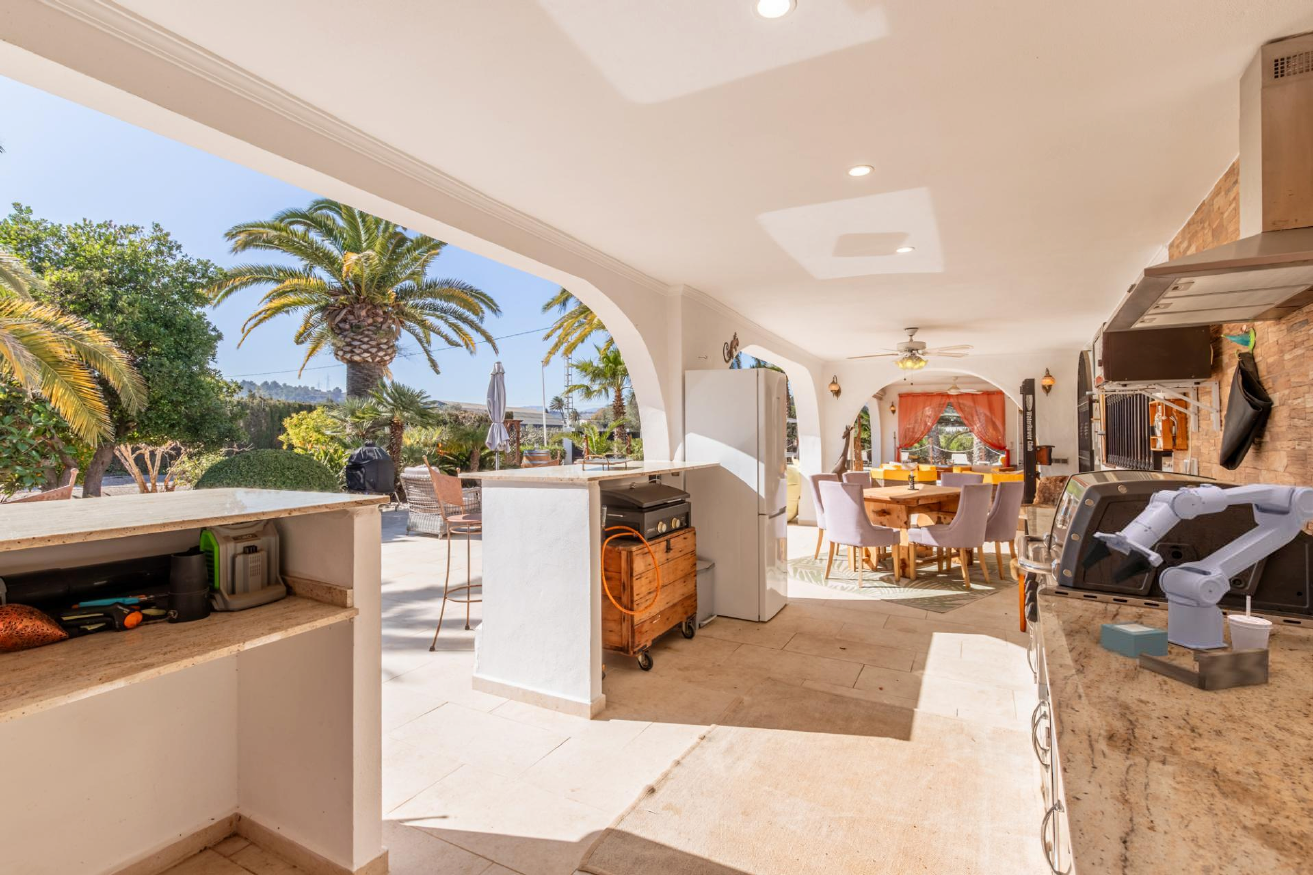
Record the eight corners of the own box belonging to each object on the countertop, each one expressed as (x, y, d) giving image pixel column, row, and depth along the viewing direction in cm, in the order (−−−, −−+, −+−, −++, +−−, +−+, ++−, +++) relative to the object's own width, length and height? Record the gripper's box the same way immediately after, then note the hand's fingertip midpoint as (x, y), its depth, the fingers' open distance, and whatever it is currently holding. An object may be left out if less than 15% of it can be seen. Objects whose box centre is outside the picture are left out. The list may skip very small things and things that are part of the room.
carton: (1133, 644, 133) (1133, 621, 133) (1167, 656, 127) (1167, 631, 127) (1100, 648, 131) (1101, 624, 131) (1133, 659, 124) (1134, 634, 124)
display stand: (1197, 659, 124) (1198, 630, 124) (1268, 682, 113) (1268, 650, 113) (1138, 666, 120) (1139, 635, 120) (1205, 690, 109) (1206, 656, 109)
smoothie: (1262, 666, 121) (1263, 595, 121) (1278, 678, 115) (1280, 603, 115) (1220, 661, 124) (1221, 591, 123) (1234, 672, 118) (1235, 598, 118)
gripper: (1105, 509, 140) (1061, 549, 139) (1168, 529, 126) (1119, 574, 125) (1119, 531, 141) (1076, 570, 141) (1183, 553, 127) (1135, 597, 127)
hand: (1097, 573), depth 133 cm, fingers open, 7 cm apart
